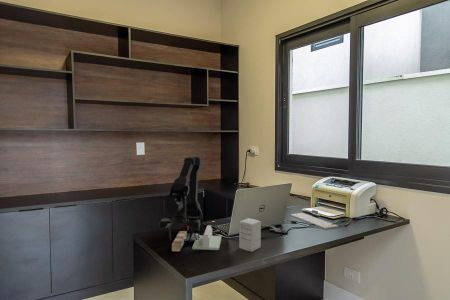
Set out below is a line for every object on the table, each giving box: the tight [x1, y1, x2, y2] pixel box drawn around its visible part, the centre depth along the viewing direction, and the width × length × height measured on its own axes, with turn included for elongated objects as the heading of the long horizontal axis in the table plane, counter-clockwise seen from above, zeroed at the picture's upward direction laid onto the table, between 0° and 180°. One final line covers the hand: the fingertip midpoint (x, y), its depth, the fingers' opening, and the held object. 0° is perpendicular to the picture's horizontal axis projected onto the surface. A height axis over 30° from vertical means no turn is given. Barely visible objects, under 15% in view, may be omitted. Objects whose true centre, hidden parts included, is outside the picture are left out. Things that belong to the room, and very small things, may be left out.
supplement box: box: [238, 217, 262, 253], centre depth 144 cm, size 7×7×13 cm
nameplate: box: [268, 226, 289, 236], centre depth 176 cm, size 27×2×10 cm
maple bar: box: [171, 230, 188, 252], centre depth 148 cm, size 18×4×4 cm, turn 177°
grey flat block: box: [290, 212, 340, 230], centre depth 190 cm, size 31×3×12 cm
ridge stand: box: [191, 224, 222, 251], centre depth 149 cm, size 16×12×6 cm
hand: (179, 241), depth 148 cm, fingers open, 9 cm apart
